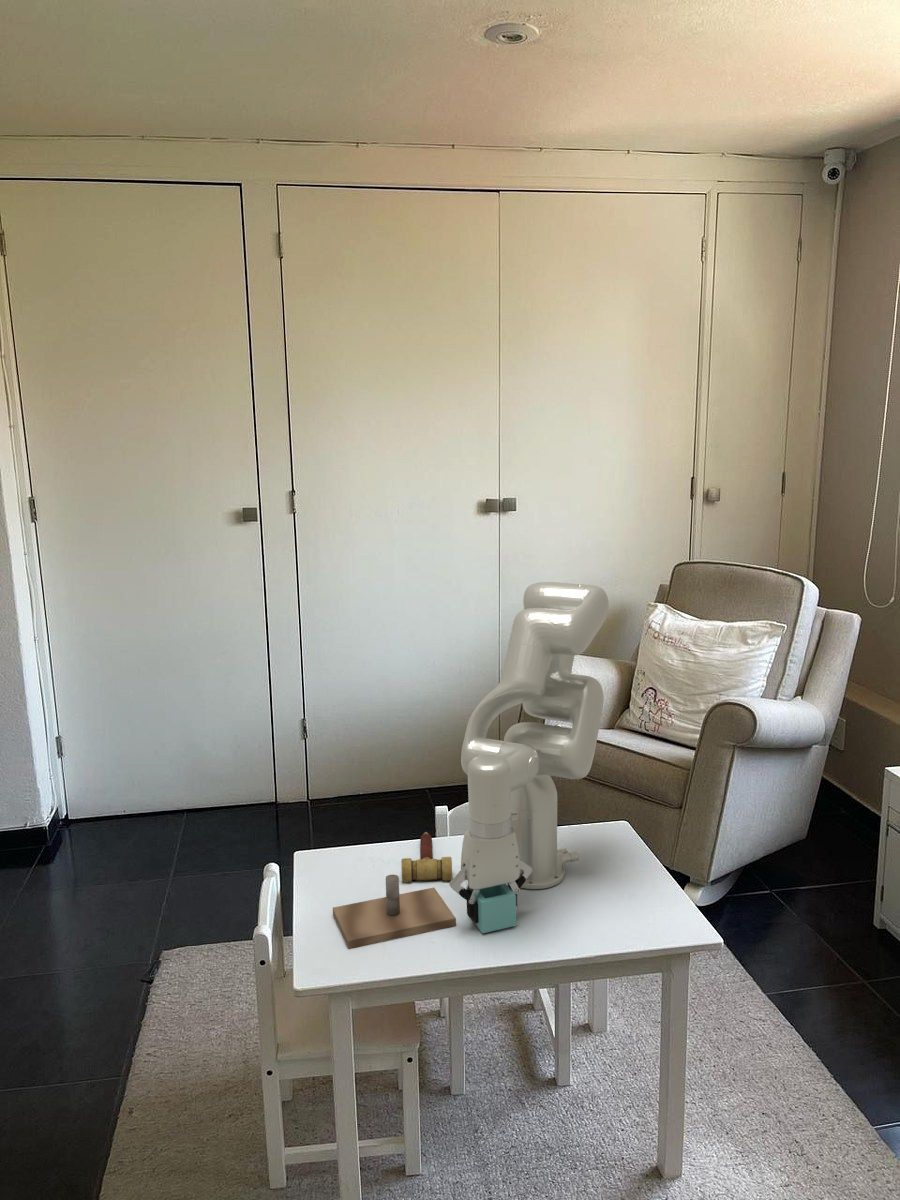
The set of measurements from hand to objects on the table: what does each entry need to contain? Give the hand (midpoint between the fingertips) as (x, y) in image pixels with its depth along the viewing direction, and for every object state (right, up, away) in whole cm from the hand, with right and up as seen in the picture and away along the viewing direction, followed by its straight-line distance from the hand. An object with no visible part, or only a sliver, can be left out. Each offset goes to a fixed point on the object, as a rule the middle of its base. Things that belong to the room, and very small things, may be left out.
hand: (492, 914), depth 169 cm
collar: (0, -1, 0) cm, 1 cm away
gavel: (-13, +2, +25) cm, 28 cm away
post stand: (-18, -2, +2) cm, 18 cm away
